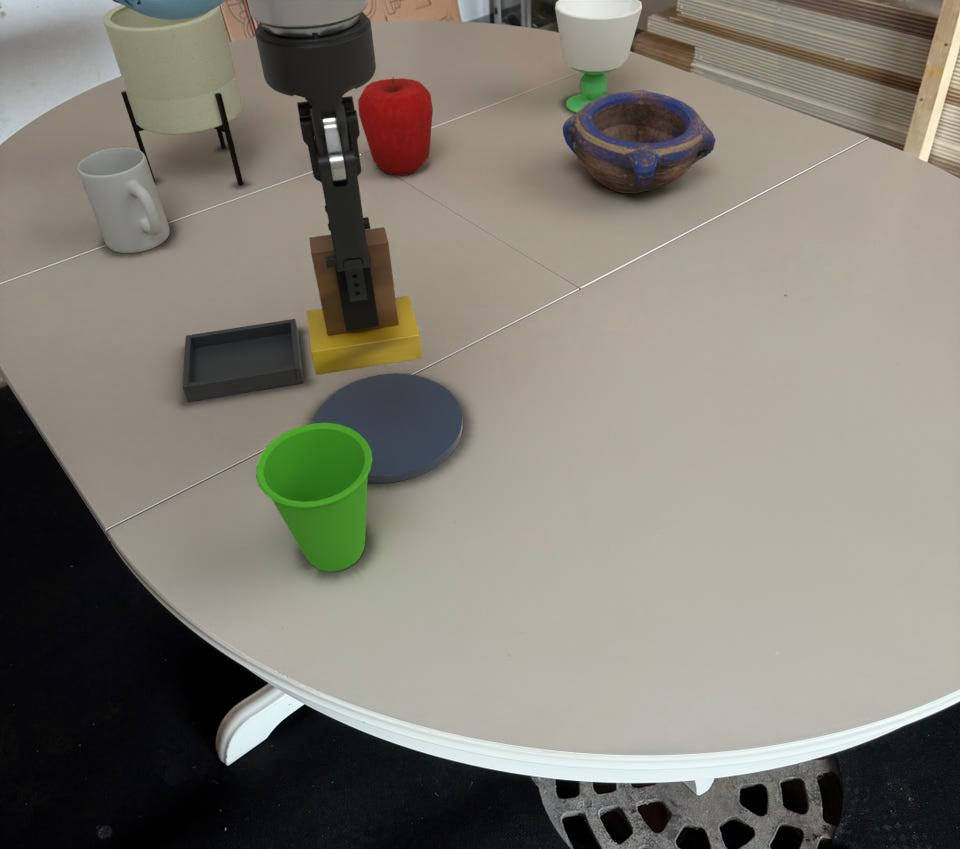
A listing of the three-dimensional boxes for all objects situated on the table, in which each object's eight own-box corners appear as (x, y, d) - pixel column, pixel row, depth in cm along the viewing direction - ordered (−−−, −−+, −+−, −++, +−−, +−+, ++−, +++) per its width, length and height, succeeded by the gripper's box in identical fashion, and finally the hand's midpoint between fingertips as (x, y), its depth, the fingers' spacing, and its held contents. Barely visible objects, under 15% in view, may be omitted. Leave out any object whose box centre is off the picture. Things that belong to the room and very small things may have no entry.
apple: (440, 152, 128) (434, 63, 119) (431, 183, 121) (423, 90, 111) (374, 152, 129) (362, 63, 120) (360, 182, 122) (347, 90, 112)
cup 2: (537, 99, 142) (538, 0, 131) (604, 83, 146) (610, -14, 136) (579, 127, 133) (584, 24, 122) (649, 110, 137) (660, 8, 126)
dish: (187, 402, 87) (182, 387, 85) (190, 350, 93) (185, 335, 92) (303, 382, 88) (300, 367, 87) (298, 333, 95) (295, 318, 93)
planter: (201, 206, 118) (152, 38, 102) (134, 178, 125) (79, 16, 109) (280, 166, 127) (246, 5, 111) (213, 141, 134) (172, -13, 118)
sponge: (316, 375, 69) (292, 267, 61) (311, 333, 73) (288, 228, 66) (422, 358, 70) (410, 251, 63) (411, 318, 74) (399, 213, 67)
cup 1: (408, 548, 71) (395, 460, 64) (324, 611, 67) (299, 524, 59) (345, 494, 76) (326, 406, 69) (263, 550, 72) (233, 462, 64)
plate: (320, 496, 76) (318, 488, 76) (308, 393, 87) (307, 386, 86) (477, 467, 78) (476, 459, 78) (447, 370, 89) (446, 363, 88)
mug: (94, 239, 112) (63, 163, 104) (149, 215, 116) (124, 140, 109) (139, 270, 106) (111, 192, 98) (196, 243, 110) (173, 167, 103)
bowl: (625, 225, 110) (633, 154, 103) (547, 174, 122) (548, 107, 115) (723, 187, 117) (736, 118, 110) (640, 143, 128) (646, 78, 121)
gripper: (384, 51, 48) (418, 364, 64) (357, -22, 59) (392, 261, 75) (254, 65, 47) (322, 379, 63) (251, -11, 58) (309, 272, 74)
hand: (360, 314), depth 69 cm, fingers closed on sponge, 2 cm apart
